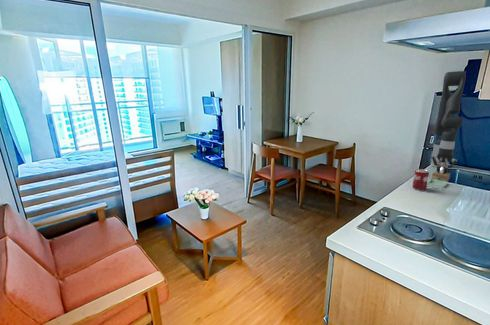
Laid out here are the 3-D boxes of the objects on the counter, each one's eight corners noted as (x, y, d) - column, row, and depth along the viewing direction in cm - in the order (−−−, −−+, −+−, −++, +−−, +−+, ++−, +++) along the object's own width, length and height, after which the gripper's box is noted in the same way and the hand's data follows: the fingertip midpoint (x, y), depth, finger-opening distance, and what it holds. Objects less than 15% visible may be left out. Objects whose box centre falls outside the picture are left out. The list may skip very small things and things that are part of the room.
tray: (430, 182, 170) (431, 178, 170) (447, 185, 164) (447, 181, 163) (425, 186, 164) (426, 182, 163) (442, 189, 158) (443, 186, 157)
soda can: (425, 187, 161) (429, 169, 158) (426, 191, 156) (429, 173, 152) (412, 185, 165) (415, 168, 162) (412, 189, 159) (415, 171, 156)
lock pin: (438, 177, 174) (441, 165, 172) (443, 178, 172) (445, 166, 170) (437, 178, 173) (440, 166, 170) (442, 179, 171) (444, 167, 168)
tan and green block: (434, 176, 179) (435, 170, 178) (450, 180, 173) (451, 173, 171) (428, 181, 171) (430, 174, 170) (445, 185, 165) (446, 177, 163)
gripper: (461, 148, 164) (456, 173, 168) (435, 144, 174) (430, 169, 179) (458, 150, 159) (453, 176, 164) (432, 146, 169) (427, 171, 174)
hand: (441, 172), depth 171 cm, fingers open, 3 cm apart
